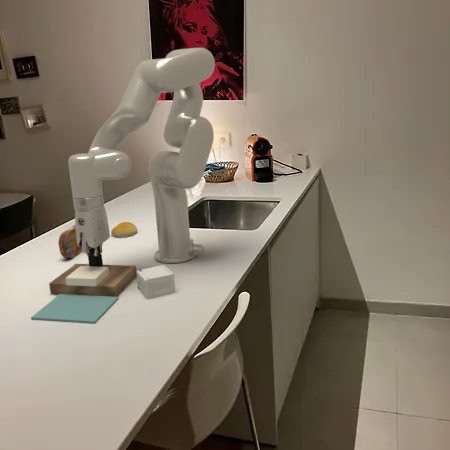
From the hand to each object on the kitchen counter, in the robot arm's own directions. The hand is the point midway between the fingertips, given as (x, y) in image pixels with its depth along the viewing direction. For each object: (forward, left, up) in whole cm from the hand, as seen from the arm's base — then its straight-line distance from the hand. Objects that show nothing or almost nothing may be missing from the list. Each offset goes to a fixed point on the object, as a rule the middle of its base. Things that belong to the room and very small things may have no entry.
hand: (96, 268), depth 138 cm
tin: (+18, -21, -4) cm, 28 cm away
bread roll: (+10, -41, -4) cm, 43 cm away
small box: (-18, +3, -4) cm, 19 cm away
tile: (0, +6, -1) cm, 6 cm away
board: (0, +2, -4) cm, 4 cm away
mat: (-2, +16, -4) cm, 17 cm away
